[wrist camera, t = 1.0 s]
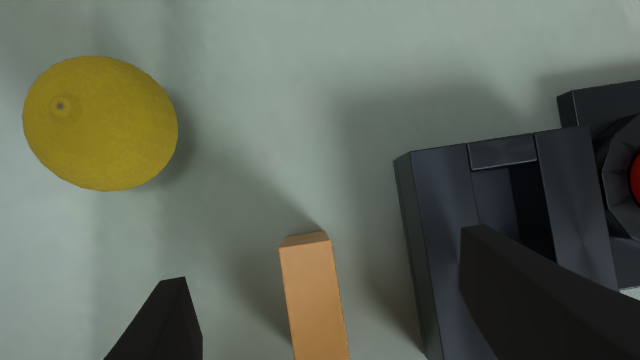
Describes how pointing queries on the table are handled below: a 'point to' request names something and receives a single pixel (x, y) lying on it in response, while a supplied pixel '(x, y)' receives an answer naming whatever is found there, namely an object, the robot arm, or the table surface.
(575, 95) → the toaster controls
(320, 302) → the toast
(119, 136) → the lemon
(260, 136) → the table surface
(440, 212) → the toaster
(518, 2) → the table surface
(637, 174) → the button
